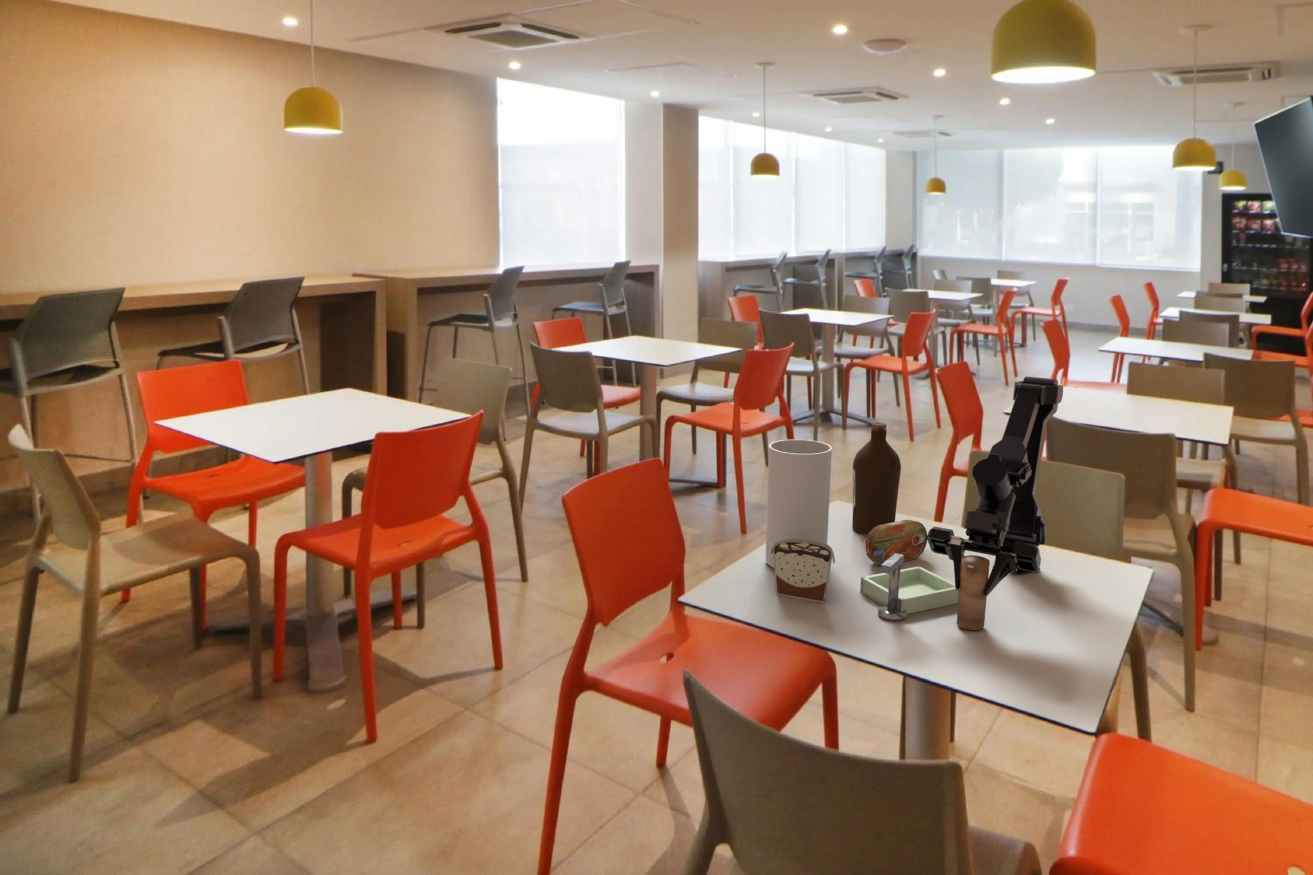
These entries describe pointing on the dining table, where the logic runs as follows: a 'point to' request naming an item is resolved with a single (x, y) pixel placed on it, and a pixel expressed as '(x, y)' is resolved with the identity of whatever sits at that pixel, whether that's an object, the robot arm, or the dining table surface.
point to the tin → (896, 541)
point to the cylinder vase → (797, 492)
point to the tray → (912, 590)
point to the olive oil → (875, 482)
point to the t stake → (892, 589)
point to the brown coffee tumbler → (972, 592)
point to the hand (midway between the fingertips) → (971, 591)
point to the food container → (802, 568)
